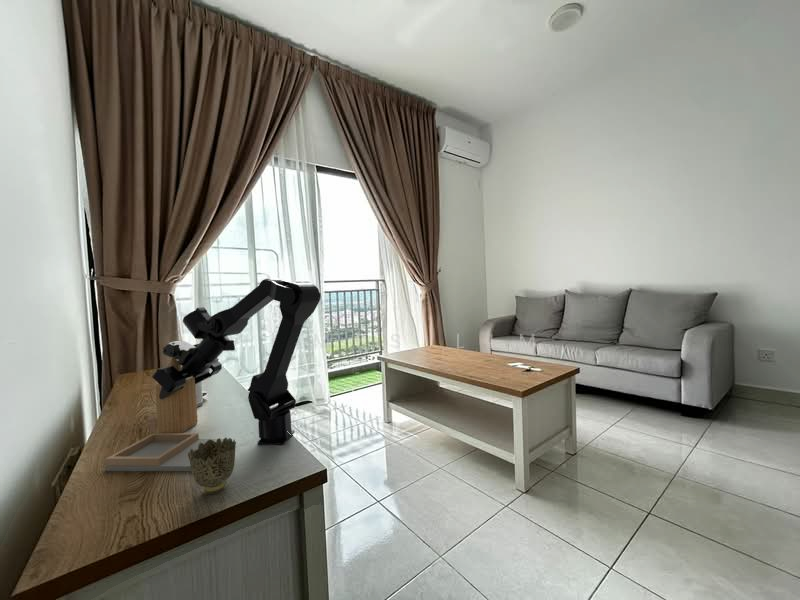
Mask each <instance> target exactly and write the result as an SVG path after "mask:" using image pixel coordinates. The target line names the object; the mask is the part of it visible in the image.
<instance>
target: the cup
mask: <svg viewBox="0 0 800 600" xmlns="http://www.w3.org/2000/svg"><path fill="white" fill-rule="evenodd" d="M208 439H209V440H208V441H207V442H205V444H203V443H199V445H198V446H199V447H198V450H195V451H194V450H193V449H190V452H189V453H188V457H189V461H190V466H191V470H192V471H191V475H192V478H193V479H194V482H195V483H196V484H197V485H199V486H200V487H203V488H202V489H203V492H204V493H205V495H215V494H219V493H220V492H222V491H224V490H225V488H226V486H227V482H228V481H227V480H228V479H229V478H230V477H231V475H232V473H233V471H234V468H235V460H236V444H237V441H236V439H232V438H231V437H229V438H227V437H225V438H223V439H224V440H223V441H221V439H222V438H220V437H219V438H216V439H217V442H214V441H213V440H210V439H211V438H208ZM228 439H229V440H228ZM231 439H232V440H231Z"/></svg>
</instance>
